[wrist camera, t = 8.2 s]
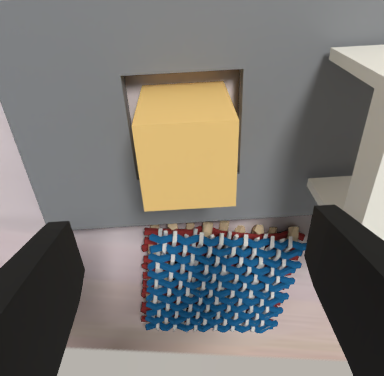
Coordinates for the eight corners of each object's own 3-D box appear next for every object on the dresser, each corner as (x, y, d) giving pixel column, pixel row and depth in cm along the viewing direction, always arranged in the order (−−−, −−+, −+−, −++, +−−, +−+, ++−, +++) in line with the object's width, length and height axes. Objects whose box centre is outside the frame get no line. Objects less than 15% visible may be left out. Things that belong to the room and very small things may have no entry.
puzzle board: (53, 220, 21) (48, 231, 20) (-24, 0, 14) (-37, 2, 13) (341, 202, 21) (348, 212, 20) (398, -23, 15) (411, -22, 14)
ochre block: (150, 156, 19) (144, 211, 15) (142, 85, 17) (131, 125, 13) (222, 152, 19) (235, 206, 15) (223, 80, 17) (239, 120, 13)
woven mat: (143, 210, 22) (140, 231, 20) (303, 219, 23) (314, 239, 21) (139, 313, 27) (137, 336, 26) (268, 316, 28) (274, 339, 27)
